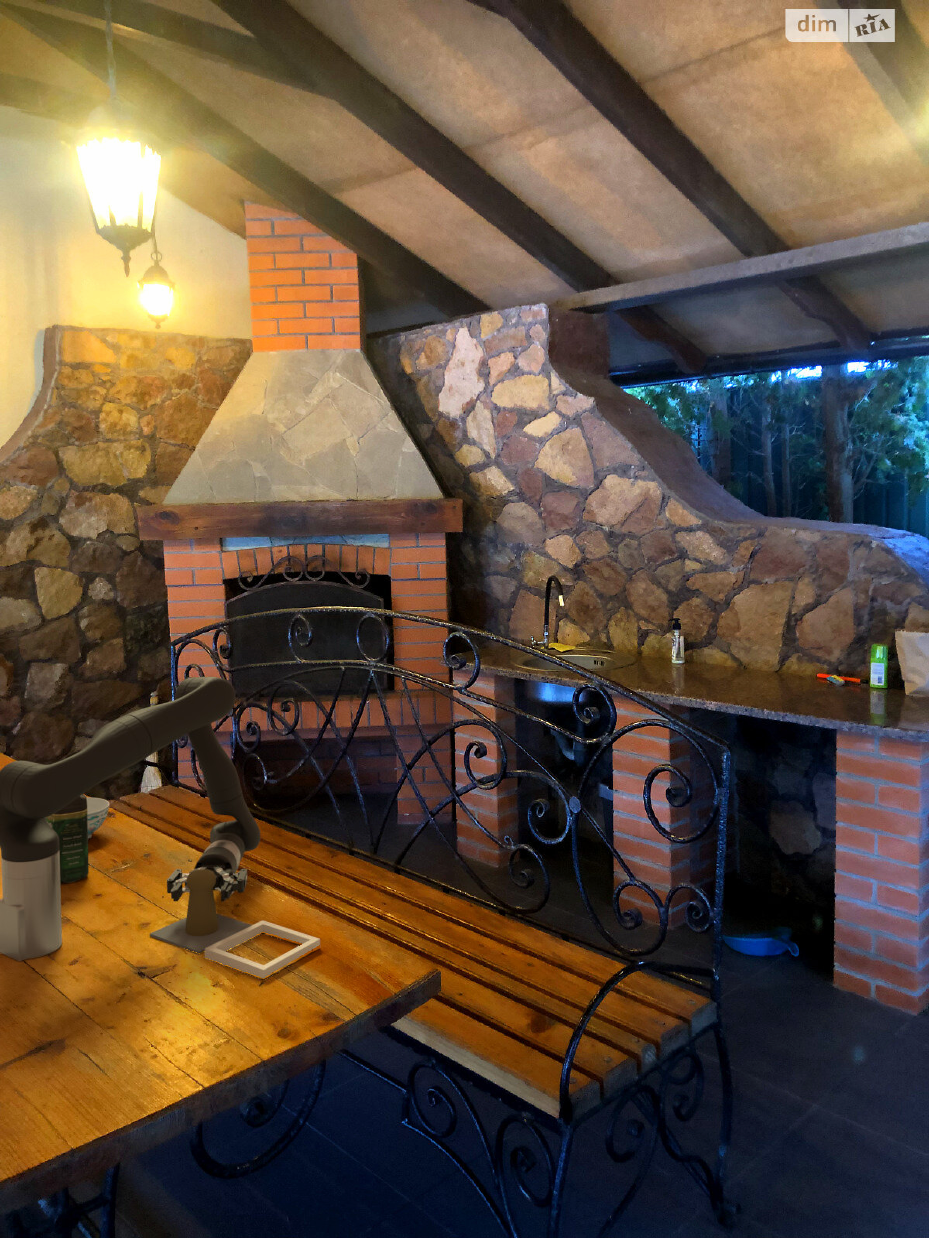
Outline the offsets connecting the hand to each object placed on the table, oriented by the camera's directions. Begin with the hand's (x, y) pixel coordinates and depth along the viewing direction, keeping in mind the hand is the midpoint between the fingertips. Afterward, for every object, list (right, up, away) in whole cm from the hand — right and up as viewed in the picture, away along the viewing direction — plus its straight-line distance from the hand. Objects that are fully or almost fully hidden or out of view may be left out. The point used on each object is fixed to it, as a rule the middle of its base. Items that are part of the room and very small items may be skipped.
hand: (199, 896), depth 168 cm
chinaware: (-45, -2, +53) cm, 69 cm away
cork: (0, -7, +3) cm, 8 cm away
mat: (0, -7, +3) cm, 8 cm away
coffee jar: (-36, -5, +29) cm, 46 cm away
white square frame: (+13, -8, -6) cm, 16 cm away
